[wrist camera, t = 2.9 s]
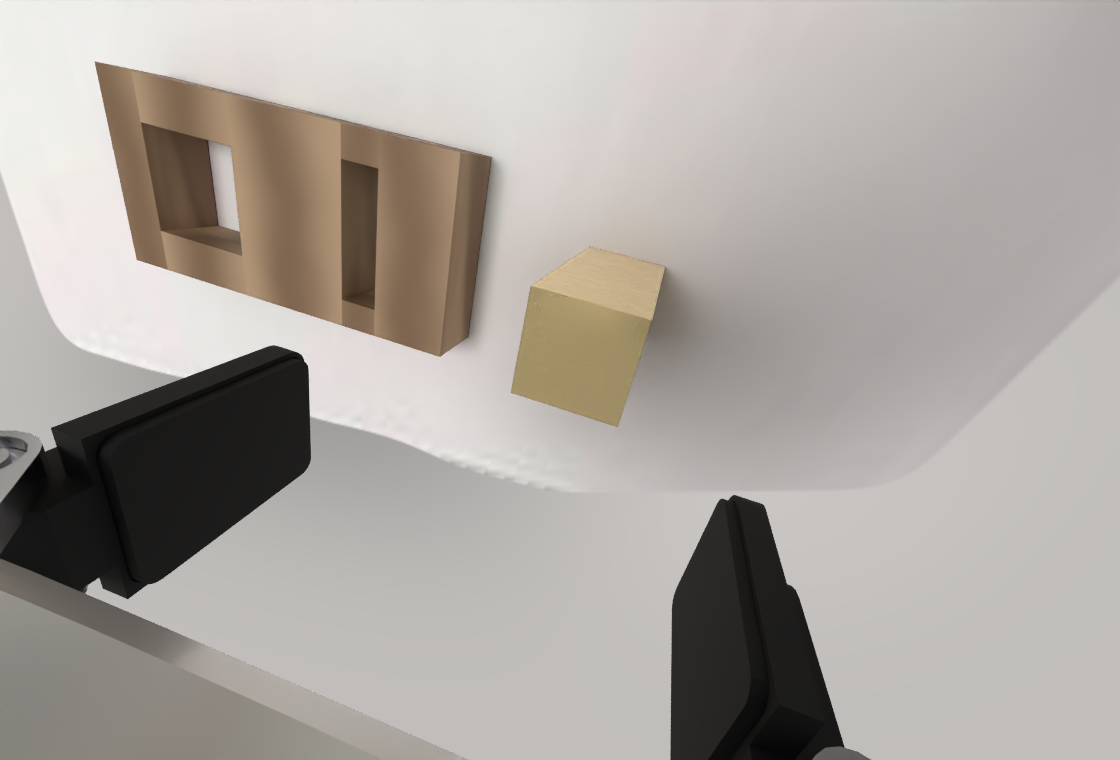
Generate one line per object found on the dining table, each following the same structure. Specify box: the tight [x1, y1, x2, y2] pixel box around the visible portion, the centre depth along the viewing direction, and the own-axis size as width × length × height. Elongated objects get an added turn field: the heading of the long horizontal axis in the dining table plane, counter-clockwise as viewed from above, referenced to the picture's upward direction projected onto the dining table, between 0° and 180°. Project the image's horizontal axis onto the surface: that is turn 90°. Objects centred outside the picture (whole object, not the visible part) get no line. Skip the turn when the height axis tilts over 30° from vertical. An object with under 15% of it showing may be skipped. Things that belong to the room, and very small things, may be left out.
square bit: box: [511, 247, 665, 427], centre depth 19 cm, size 4×4×10 cm
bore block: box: [95, 62, 491, 357], centre depth 25 cm, size 20×10×4 cm, turn 77°
